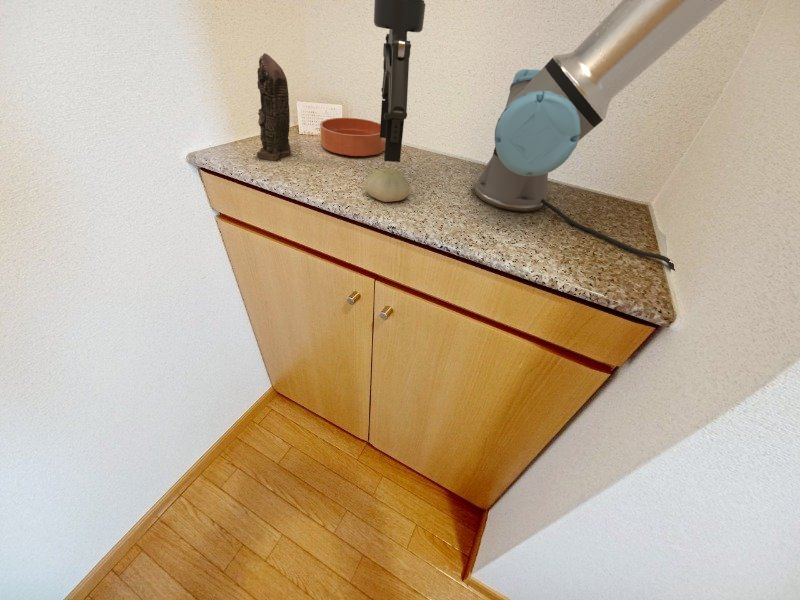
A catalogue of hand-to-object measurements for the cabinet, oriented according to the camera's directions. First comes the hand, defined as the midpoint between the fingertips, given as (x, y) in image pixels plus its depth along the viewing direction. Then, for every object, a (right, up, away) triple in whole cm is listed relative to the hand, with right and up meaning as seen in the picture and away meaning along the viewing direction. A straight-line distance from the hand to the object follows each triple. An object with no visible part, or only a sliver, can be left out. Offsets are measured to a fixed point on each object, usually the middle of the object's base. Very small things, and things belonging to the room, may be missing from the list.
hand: (388, 148), depth 61 cm
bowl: (-11, +13, +27) cm, 32 cm away
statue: (-28, +6, +17) cm, 33 cm away
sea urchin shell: (-1, -7, +6) cm, 9 cm away
